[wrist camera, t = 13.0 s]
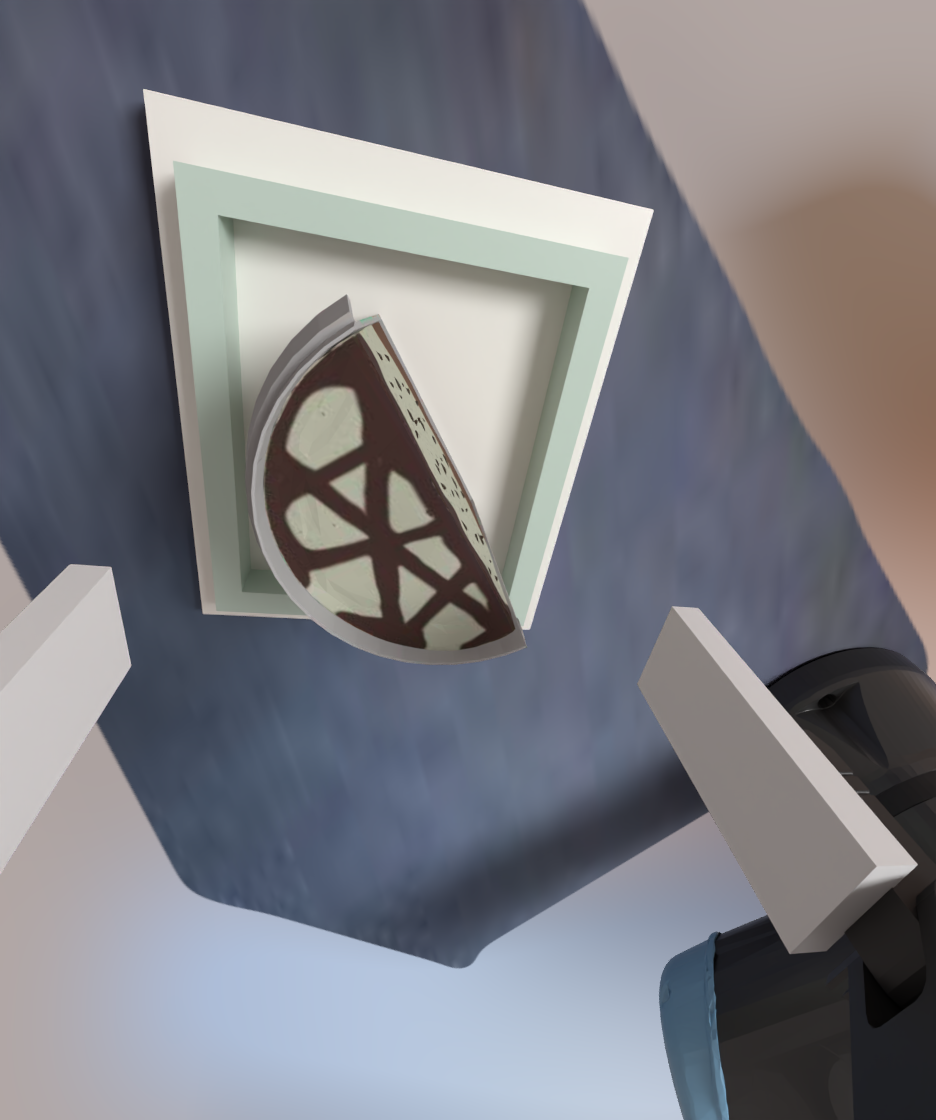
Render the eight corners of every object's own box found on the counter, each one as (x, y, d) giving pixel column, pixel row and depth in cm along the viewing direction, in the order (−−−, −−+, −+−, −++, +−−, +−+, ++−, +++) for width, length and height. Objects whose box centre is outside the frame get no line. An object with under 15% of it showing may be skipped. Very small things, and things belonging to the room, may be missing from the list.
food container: (224, 349, 21) (113, 426, 12) (359, 275, 20) (341, 302, 11) (379, 573, 27) (377, 724, 19) (485, 523, 26) (532, 657, 18)
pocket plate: (641, 211, 21) (678, 207, 18) (525, 617, 32) (538, 652, 29) (157, 97, 17) (115, 72, 15) (209, 600, 28) (190, 639, 25)
